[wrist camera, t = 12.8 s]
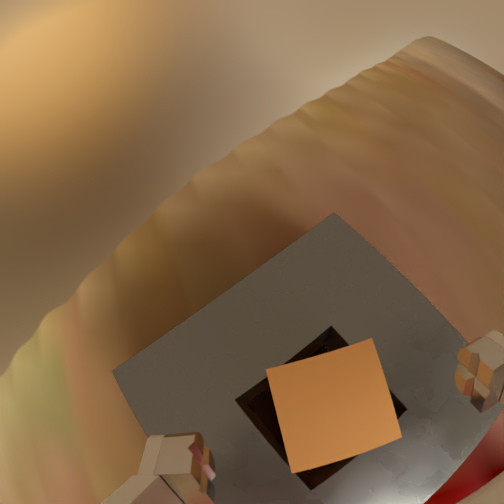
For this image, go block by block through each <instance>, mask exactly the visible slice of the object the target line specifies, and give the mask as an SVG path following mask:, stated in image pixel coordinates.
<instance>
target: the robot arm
mask: <svg viewBox="0 0 504 504" xmlns="http://www.w3.org/2000/svg"><path fill="white" fill-rule="evenodd" d="M457 360H458V361H459V362H460V363H459V365H458V367H457V368H456V370H455V382H456V386H457V388H458V389H459V391H460V392H461V393H462V394H463V395H466V396H470V403H471V404H472V405H473V406H474V407H475V408H476V409H477V410H478V411H479V412H480V413H483V412H484V411H486V410H487V409H489V408H490V407H492V406H493V405H495V404H496V403H498V402H499V401H500V402H499V403H501V404H504V335H503V334H501V333H500V332H498V331H497V330H491V331H489V332H488V333H486V334H485V335H483V336H482V337H480V338H478V339H476V340H475V341H473V342H471V343H469V344H468V345H466V346H464V347H462V348H460V350H459V352H458V356H457ZM215 476H216V467H215V461H214V458H213V455H212V453H211V451H210V449H209V448H207V447H205V446H204V439H203V437H202V435H201V434H200V433H199V432H191V433H179V434H166V435H151V436H150V437H149V438H148V439H147V442H146V445H145V449H144V452H143V456H142V459H141V463H140V467H139V470H138V474H137V475H133V476H131V477H130V478H129V479H128V480H127V481H126V482H125V483H123V484H122V485H121V486H120V487H119V488H118V489H117V490H115V491H114V492H113V493H112V494H111V495H109V496H108V497H107V498H106V499H105V500H103V501H102V502H101V503H100V504H215V486H214V485H213V483H212V482H211V481H212V479H213V478H214V477H215ZM456 504H504V471H503V472H502V473H500V474H499V475H498V476H496V477H495V478H494V479H492V480H491V481H490V482H488V483H487V484H485V485H484V486H483V487H481V488H480V489H478V490H477V491H475V492H474V493H472V494H471V495H469V496H468V497H466V498H464V499H463V500H461V501H460V502H458V503H456Z"/></svg>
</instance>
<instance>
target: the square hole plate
mask: <svg viewBox="0 0 504 504" xmlns="http://www.w3.org/2000/svg"><path fill="white" fill-rule="evenodd" d="M370 338H372V339H373V342H374V345H375V348H376V351H377V354H378V357H379V360H380V363H381V366H382V370H383V373H384V376H385V379H386V382H387V385H388V389H389V392H390V395H391V399H392V402H393V406H394V409H395V413H396V416H397V420H398V424H399V427H400V431H401V435H402V437H401V438H399V439H397V440H394V441H392V442H390V443H387V444H385V445H382V446H380V447H377V448H374V449H372V450H369V451H366V452H364V453H361V454H358V455H355V456H352V457H349V458H346V459H343V460H340V461H337V462H334V463H330V464H327V465H323V466H320V467H318V468H317V469H316V470H314V471H313V472H311V473H310V474H308V475H307V474H306V473H305V472H304V471H301V472H296V473H291V469H290V465H289V461H288V457H287V453H286V451H285V449H284V448H283V447H282V446H281V445H280V444H279V442H278V441H277V440H276V439H275V438H274V436H273V435H272V434H271V433H270V432H269V430H268V429H267V428H266V427H265V425H264V424H263V423H262V422H261V420H260V419H259V418H258V417H257V415H256V414H255V413H254V412H253V410H252V409H251V408H250V407H249V405H248V404H247V403H248V402H249V401H250V400H252V399H253V398H255V397H256V396H257V395H259V394H260V393H262V392H263V391H264V390H266V389H267V388H268V387H270V385H269V380H268V376H267V372H266V369H269V368H273V367H277V366H281V365H285V364H289V363H292V362H296V361H300V360H303V359H306V358H307V357H309V356H310V355H311V354H312V353H314V352H315V351H316V350H317V349H318V348H320V347H321V346H322V345H323V344H325V345H326V346H327V347H328V349H329V350H330V351H334V350H337V349H340V348H343V347H347V346H350V345H353V344H356V343H359V342H362V341H364V340H367V339H370ZM466 345H468V343H467V341H466V340H465V339H464V338H463V337H462V336H461V335H460V334H459V333H458V331H457V330H456V329H455V328H454V327H453V326H452V325H451V324H450V323H449V322H448V321H447V319H446V318H445V317H444V316H443V315H442V314H441V313H440V312H439V311H438V310H437V309H436V308H435V307H434V306H433V305H432V304H431V303H430V302H429V301H428V300H427V299H426V298H425V297H424V295H423V294H422V293H421V292H420V291H419V290H418V289H417V288H416V287H415V286H414V285H413V284H412V283H411V282H410V281H409V280H408V279H406V278H405V277H404V276H403V275H402V274H401V273H400V272H399V271H398V270H397V269H396V268H395V267H394V266H393V265H392V264H391V263H390V262H389V261H388V260H387V259H386V258H385V257H384V256H382V255H381V254H380V253H379V252H378V251H377V250H376V249H375V248H374V247H373V246H372V245H371V244H369V243H368V242H367V241H366V240H365V239H364V238H363V237H362V236H361V235H359V234H358V233H357V232H356V231H355V230H354V229H353V228H352V227H350V226H349V225H348V224H347V223H346V222H345V221H344V220H342V219H341V218H340V217H339V216H338V215H337V214H336V213H332V214H331V215H330V216H328V217H327V218H326V219H324V220H323V221H322V222H320V223H319V224H318V225H316V226H315V227H314V228H312V229H311V230H309V231H308V232H307V233H305V234H304V235H303V236H301V237H300V238H299V239H297V240H296V241H294V242H293V243H292V244H290V245H289V246H288V247H286V248H285V249H284V250H282V251H281V252H279V253H278V254H277V255H275V256H274V257H273V258H271V259H270V260H268V261H267V262H266V263H264V264H263V265H261V266H260V267H259V268H257V269H256V270H255V271H253V272H252V273H250V274H249V275H248V276H246V277H245V278H243V279H242V280H241V281H239V282H238V283H237V284H235V285H234V286H232V287H231V288H230V289H228V290H227V291H225V292H224V293H223V294H221V295H220V296H218V297H217V298H216V299H214V300H213V301H211V302H210V303H209V304H207V305H206V306H204V307H203V308H201V309H200V310H199V311H197V312H196V313H194V314H193V315H192V316H190V317H189V318H187V319H186V320H184V321H183V322H182V323H180V324H179V325H177V326H176V327H175V328H173V329H172V330H170V331H169V332H167V333H166V334H165V335H163V336H162V337H160V338H159V339H157V340H156V341H155V342H153V343H152V344H150V345H149V346H147V347H146V348H144V349H143V350H142V351H140V352H139V353H137V354H136V355H134V356H133V357H131V358H130V359H129V360H127V361H126V362H124V363H123V364H121V365H120V366H118V367H117V368H115V369H114V370H113V371H112V372H113V374H114V377H115V379H116V381H117V383H118V385H119V387H120V388H121V390H122V392H123V394H124V396H125V398H126V400H127V402H128V404H129V405H130V407H131V409H132V411H133V413H134V414H135V416H136V418H137V420H138V421H139V423H140V425H141V427H142V428H143V430H144V432H145V433H146V435H147V436H148V438H149V437H150V436H151V435H166V434H179V433H191V432H199V433H200V434H201V435H202V437H203V439H204V446H205V447H207V448H209V449H210V451H211V453H212V455H213V458H214V461H215V467H216V476H215V477H214V478H213V479H212V481H211V482H212V483H213V485H214V486H215V504H423V503H424V502H425V501H427V500H428V499H429V498H430V497H431V496H432V495H433V494H434V493H435V492H436V491H437V490H438V489H439V488H440V487H441V486H442V485H443V484H444V483H445V482H446V481H447V480H448V478H449V477H450V476H451V475H452V474H453V473H454V472H455V471H456V470H457V469H458V467H459V466H460V465H461V464H462V463H463V462H464V461H465V459H466V458H467V457H468V456H469V455H470V453H471V452H472V451H473V450H474V448H475V447H476V446H477V445H478V443H479V442H480V441H481V439H482V438H483V437H484V435H485V434H486V433H487V431H488V430H489V429H490V427H491V426H492V424H493V423H494V421H495V420H496V418H497V417H498V416H499V414H500V413H501V411H502V409H503V408H504V404H501V403H499V402H500V401H499V402H498V403H496V404H495V405H493V406H492V407H490V408H489V409H487V410H486V411H484V412H483V413H480V412H479V411H478V410H477V409H476V408H475V407H474V406H473V405H472V404H471V403H470V396H466V395H463V394H462V393H461V392H460V391H459V389H458V388H457V386H456V382H455V370H456V368H457V367H458V365H459V363H460V362H459V361H458V360H457V356H458V352H459V350H460V348H462V347H464V346H466Z"/></svg>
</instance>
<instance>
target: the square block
mask: <svg viewBox="0 0 504 504" xmlns="http://www.w3.org/2000/svg"><path fill="white" fill-rule="evenodd" d="M266 372H267V376H268V380H269V385H270V389H271V393H272V397H273V401H274V405H275V409H276V413H277V417H278V421H279V425H280V429H281V433H282V437H283V441H284V445H285V449H286V453H287V457H288V461H289V465H290V469H291V473H296V472H301V471H305V470H309V469H312V468H316V467H320V466H323V465H327V464H330V463H334V462H337V461H340V460H343V459H346V458H349V457H352V456H355V455H358V454H361V453H364V452H366V451H369V450H372V449H374V448H377V447H380V446H382V445H385V444H387V443H390V442H392V441H394V440H397V439H399V438H401V437H402V435H401V431H400V427H399V424H398V420H397V416H396V413H395V409H394V406H393V402H392V399H391V395H390V392H389V389H388V385H387V382H386V379H385V376H384V373H383V370H382V366H381V363H380V360H379V357H378V354H377V351H376V348H375V345H374V342H373V339H372V338H370V339H367V340H364V341H362V342H359V343H356V344H353V345H350V346H347V347H343V348H340V349H337V350H334V351H331V352H327V353H324V354H321V355H317V356H314V357H310V358H307V359H303V360H300V361H296V362H292V363H289V364H285V365H281V366H277V367H273V368H269V369H266Z"/></svg>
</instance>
